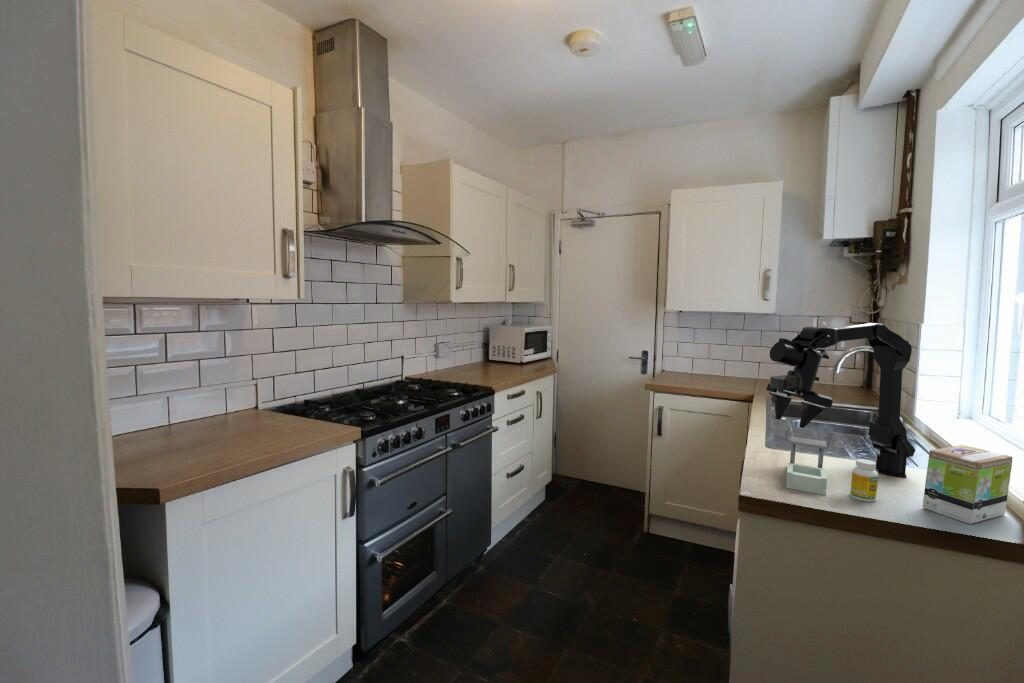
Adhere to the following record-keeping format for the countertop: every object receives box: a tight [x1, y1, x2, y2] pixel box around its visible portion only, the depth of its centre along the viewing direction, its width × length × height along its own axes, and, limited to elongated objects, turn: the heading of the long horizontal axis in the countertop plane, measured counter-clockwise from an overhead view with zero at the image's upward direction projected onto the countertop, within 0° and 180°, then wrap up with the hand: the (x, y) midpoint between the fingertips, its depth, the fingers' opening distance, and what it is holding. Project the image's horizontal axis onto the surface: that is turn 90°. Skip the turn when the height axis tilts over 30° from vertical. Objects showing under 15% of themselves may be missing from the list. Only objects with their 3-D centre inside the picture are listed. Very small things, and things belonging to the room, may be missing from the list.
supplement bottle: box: [849, 458, 879, 503], centre depth 122 cm, size 5×5×10 cm
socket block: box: [785, 462, 828, 496], centre depth 134 cm, size 9×20×4 cm, turn 149°
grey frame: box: [789, 436, 828, 468], centre depth 140 cm, size 9×6×8 cm, turn 59°
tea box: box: [922, 444, 1013, 525], centre depth 115 cm, size 15×10×15 cm, turn 114°
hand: (789, 423), depth 135 cm, fingers open, 9 cm apart
